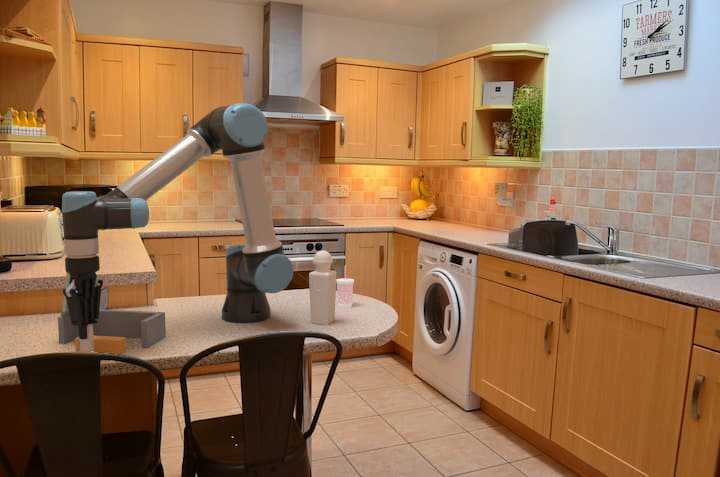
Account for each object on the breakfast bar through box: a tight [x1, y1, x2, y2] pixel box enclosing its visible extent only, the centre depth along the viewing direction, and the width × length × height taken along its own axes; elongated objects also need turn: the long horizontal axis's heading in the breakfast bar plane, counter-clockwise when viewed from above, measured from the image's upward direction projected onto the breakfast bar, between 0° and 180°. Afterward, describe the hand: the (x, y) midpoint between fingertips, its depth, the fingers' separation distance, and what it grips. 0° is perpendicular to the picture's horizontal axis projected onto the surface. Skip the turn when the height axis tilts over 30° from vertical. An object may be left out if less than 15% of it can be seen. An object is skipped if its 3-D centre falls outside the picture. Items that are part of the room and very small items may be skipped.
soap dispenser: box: [308, 250, 338, 326], centre depth 178 cm, size 6×6×22 cm
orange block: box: [74, 335, 127, 355], centre depth 150 cm, size 12×3×4 cm, turn 82°
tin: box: [100, 285, 110, 310], centre depth 188 cm, size 15×3×8 cm, turn 5°
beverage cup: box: [336, 264, 355, 308], centre depth 200 cm, size 6×6×14 cm
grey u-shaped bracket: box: [57, 309, 167, 349], centre depth 159 cm, size 25×10×7 cm, turn 81°
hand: (87, 350), depth 145 cm, fingers closed
